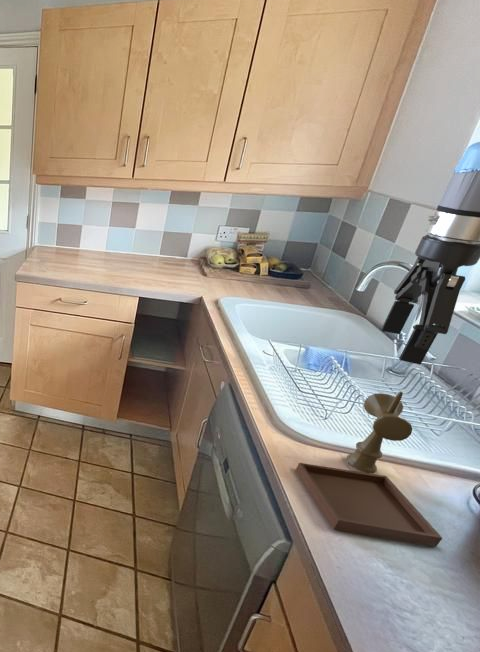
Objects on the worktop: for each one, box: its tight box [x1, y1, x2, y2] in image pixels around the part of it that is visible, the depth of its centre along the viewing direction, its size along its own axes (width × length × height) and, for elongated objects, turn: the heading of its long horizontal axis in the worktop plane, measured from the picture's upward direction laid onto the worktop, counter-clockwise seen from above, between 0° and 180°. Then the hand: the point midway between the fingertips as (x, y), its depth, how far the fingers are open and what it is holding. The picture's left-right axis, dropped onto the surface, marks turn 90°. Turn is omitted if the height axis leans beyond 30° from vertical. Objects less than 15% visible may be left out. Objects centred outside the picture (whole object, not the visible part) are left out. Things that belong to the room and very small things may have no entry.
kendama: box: [346, 391, 413, 474], centre depth 87 cm, size 6×10×20 cm, turn 147°
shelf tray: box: [294, 462, 443, 548], centre depth 81 cm, size 16×14×2 cm
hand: (399, 345), depth 80 cm, fingers open, 13 cm apart
